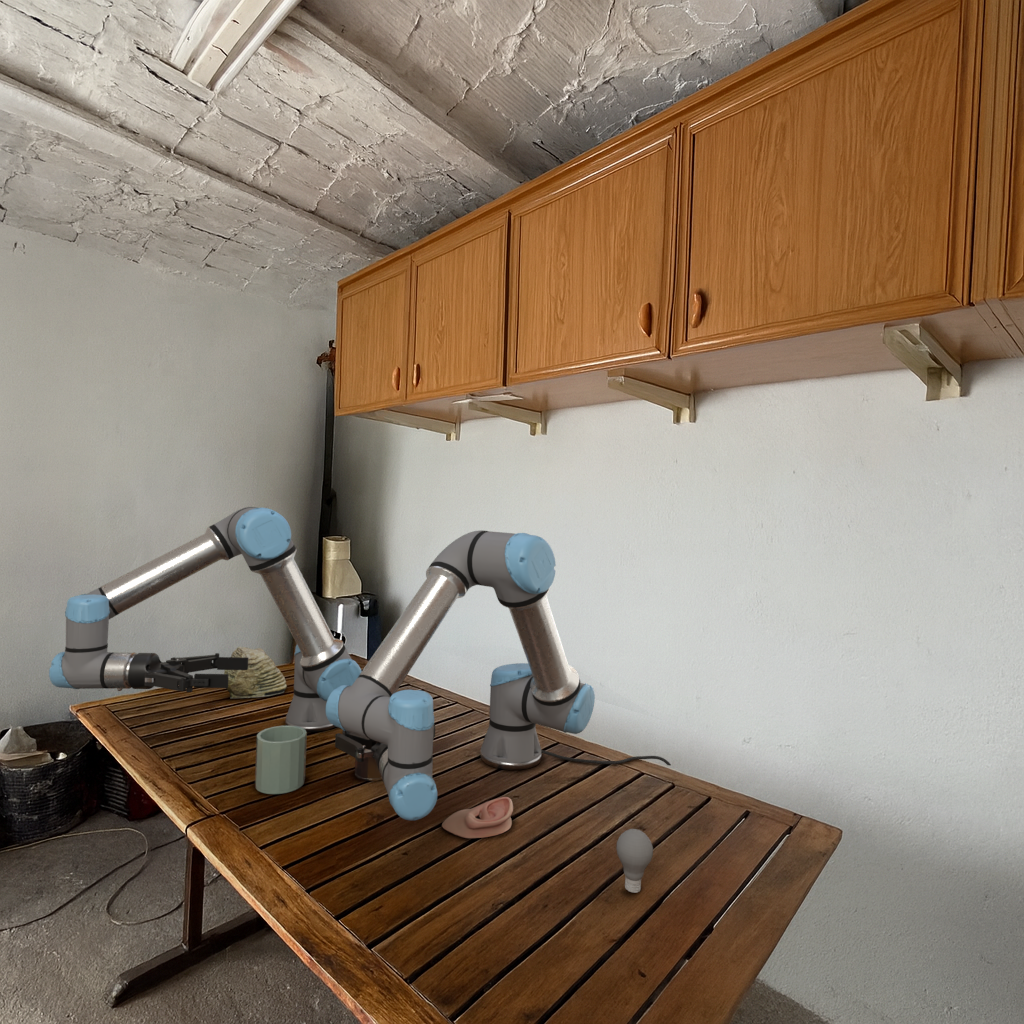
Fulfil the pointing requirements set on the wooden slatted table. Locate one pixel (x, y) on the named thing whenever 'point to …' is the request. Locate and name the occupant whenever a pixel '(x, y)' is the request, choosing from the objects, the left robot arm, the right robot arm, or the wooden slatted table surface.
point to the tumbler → (367, 770)
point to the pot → (280, 759)
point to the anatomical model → (481, 819)
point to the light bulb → (634, 857)
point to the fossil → (255, 676)
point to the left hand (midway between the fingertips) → (238, 672)
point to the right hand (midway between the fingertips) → (380, 721)
